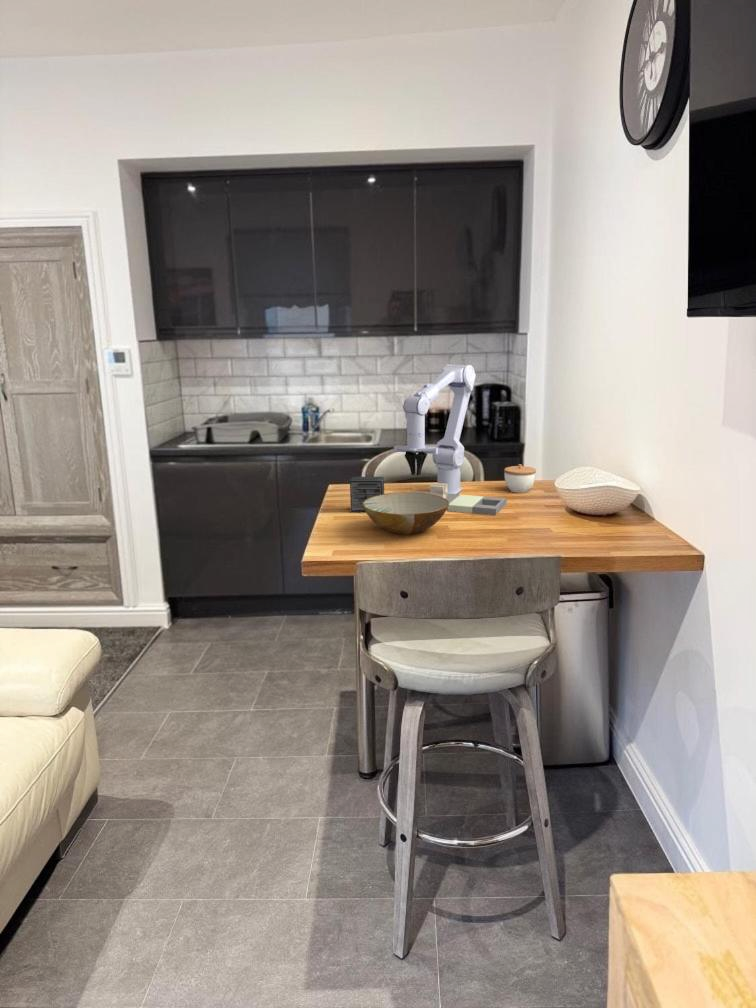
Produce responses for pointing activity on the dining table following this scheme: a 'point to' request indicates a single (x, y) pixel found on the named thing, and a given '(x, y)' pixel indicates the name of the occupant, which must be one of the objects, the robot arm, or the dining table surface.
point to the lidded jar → (519, 478)
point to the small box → (364, 490)
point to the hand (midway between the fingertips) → (416, 474)
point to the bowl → (405, 511)
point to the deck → (473, 503)
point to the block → (439, 490)
